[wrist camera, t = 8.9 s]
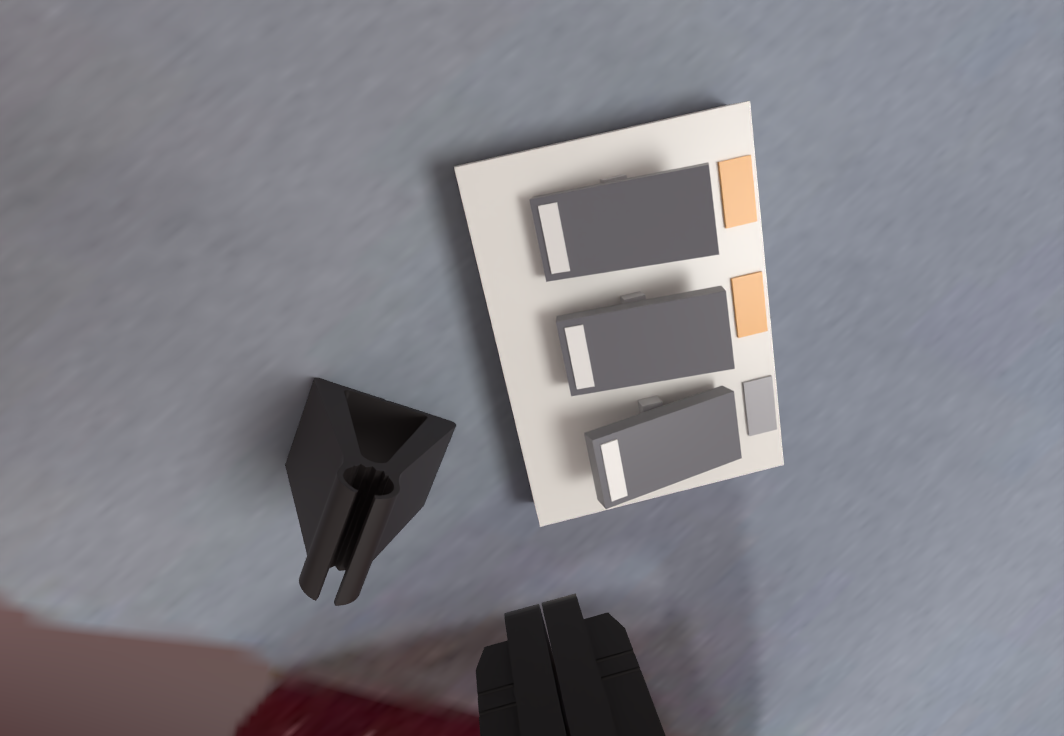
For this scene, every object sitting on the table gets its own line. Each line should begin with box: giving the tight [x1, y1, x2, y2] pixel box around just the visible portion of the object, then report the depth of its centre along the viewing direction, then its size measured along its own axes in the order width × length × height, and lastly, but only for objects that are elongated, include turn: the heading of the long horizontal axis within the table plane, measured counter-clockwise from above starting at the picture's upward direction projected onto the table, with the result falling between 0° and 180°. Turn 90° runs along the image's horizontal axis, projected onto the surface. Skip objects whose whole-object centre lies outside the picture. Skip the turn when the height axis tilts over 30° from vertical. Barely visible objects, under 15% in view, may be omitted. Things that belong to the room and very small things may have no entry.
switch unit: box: [454, 101, 784, 527], centre depth 39 cm, size 22×16×4 cm
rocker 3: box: [584, 386, 742, 509], centre depth 39 cm, size 4×9×1 cm, turn 102°
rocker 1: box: [529, 162, 719, 282], centre depth 34 cm, size 4×9×1 cm, turn 102°
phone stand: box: [285, 378, 456, 606], centre depth 36 cm, size 9×6×12 cm, turn 67°
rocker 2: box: [556, 286, 735, 396], centre depth 36 cm, size 4×9×1 cm, turn 102°
